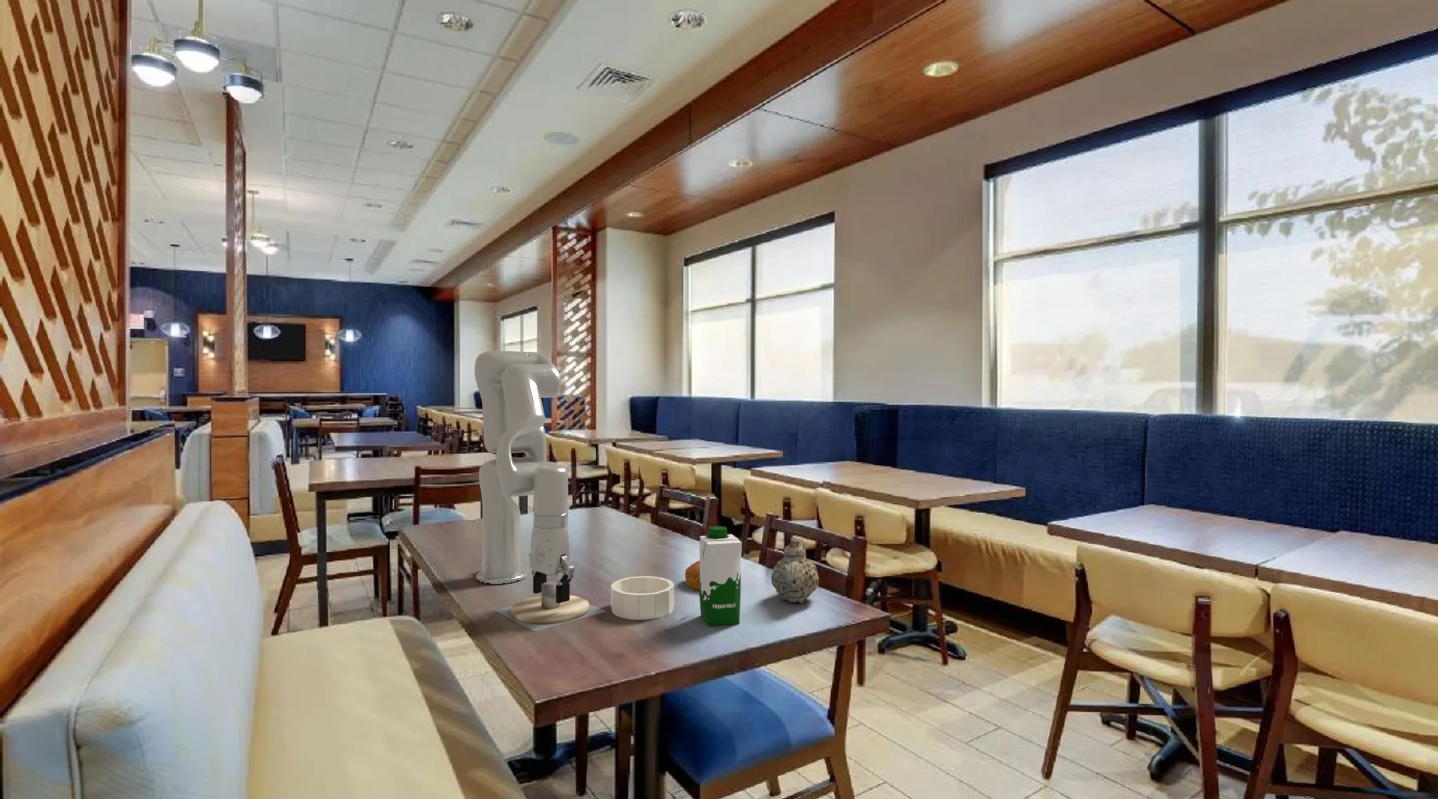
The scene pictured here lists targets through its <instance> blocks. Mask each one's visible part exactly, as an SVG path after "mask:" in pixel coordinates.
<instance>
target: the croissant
mask: <svg viewBox="0 0 1438 799" xmlns="http://www.w3.org/2000/svg"><path fill="white" fill-rule="evenodd" d="M684 578H685V583H686V585H687V587H689V588H690V589H692V590H694V591H698V592H699V587H700V560H697V561H695V562H694V563H692V564H690V565H689V566H688V567H687V568H686V570H685V572H684Z"/></svg>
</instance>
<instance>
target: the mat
mask: <svg viewBox="0 0 1438 799" xmlns="http://www.w3.org/2000/svg"><path fill="white" fill-rule="evenodd" d="M512 606H513V605H509V606H506V607H502V608H497V609H494V612H497V613H498V614H500V615H502V616H504V617H506V618H508V619H510V620H512V621H514V622H516V623H517V624H519V625H521V626H523V627H525V628H527V629H529V630H530V631H533V632H534V633H536V632H539V631H543V630H547V629H549V628H554V627H558V626H561V625H564V624H568V623H571V622H575V621H578V620H582V619H586V618H590V617H592V616H596V615H600V614H603V613H607V612H608V611H607V610H605V609H602V608H600V607H598V606H596V605H592V604H591V603H589V610H588V612H587V613H586V614H585V615H583V616H582V617H579V618H577V619H574V620H571V621H567V622H562V623H554V624H531V623H525V622H521V621H518V620H516V619H514V618H513V617H512V616H511V608H512Z"/></svg>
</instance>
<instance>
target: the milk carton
mask: <svg viewBox="0 0 1438 799" xmlns="http://www.w3.org/2000/svg"><path fill="white" fill-rule="evenodd" d="M742 543H743V542H742V541H740V539H739V538H738V537H736V536H735V535H733V534H732V533H731V534H728V528H727V527H726V526H723V525H711V526H709V528H708V534H707V535H700V536H699V561H700V587H699V591H698V592H699V594H698V595H699V607H700V617H701V618H702V619H703V621H704V622H705V623H706V625H707V626H708V627H717V626H726V625H739V624H740V620H741V619H740V618H741V595H742V594H741V590H742V587H741V585H742V584H741V583H742V582H741V581H742V579H741V578H742V546H743V544H742Z"/></svg>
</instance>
